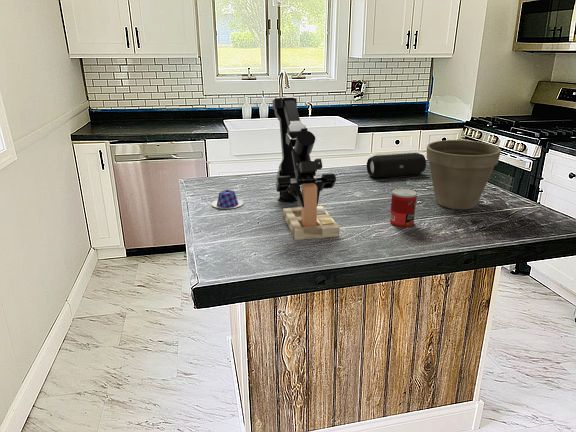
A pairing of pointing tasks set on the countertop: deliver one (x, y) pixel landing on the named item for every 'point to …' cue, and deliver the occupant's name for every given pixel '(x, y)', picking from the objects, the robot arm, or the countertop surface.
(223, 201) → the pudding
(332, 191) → the countertop surface
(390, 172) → the portable speaker
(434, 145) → the plant pot
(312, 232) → the socket plate
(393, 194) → the canned food
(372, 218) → the countertop surface
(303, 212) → the plug
